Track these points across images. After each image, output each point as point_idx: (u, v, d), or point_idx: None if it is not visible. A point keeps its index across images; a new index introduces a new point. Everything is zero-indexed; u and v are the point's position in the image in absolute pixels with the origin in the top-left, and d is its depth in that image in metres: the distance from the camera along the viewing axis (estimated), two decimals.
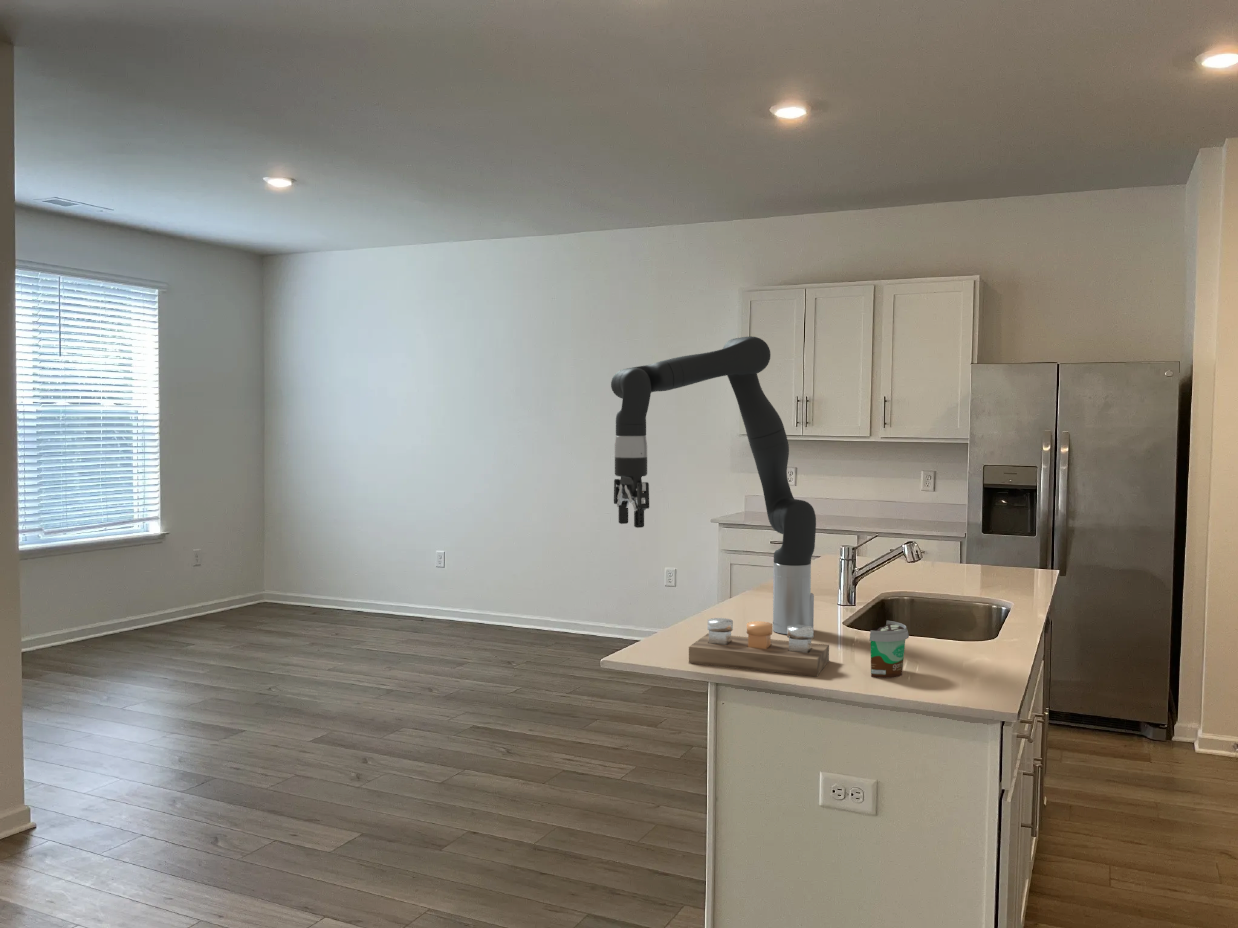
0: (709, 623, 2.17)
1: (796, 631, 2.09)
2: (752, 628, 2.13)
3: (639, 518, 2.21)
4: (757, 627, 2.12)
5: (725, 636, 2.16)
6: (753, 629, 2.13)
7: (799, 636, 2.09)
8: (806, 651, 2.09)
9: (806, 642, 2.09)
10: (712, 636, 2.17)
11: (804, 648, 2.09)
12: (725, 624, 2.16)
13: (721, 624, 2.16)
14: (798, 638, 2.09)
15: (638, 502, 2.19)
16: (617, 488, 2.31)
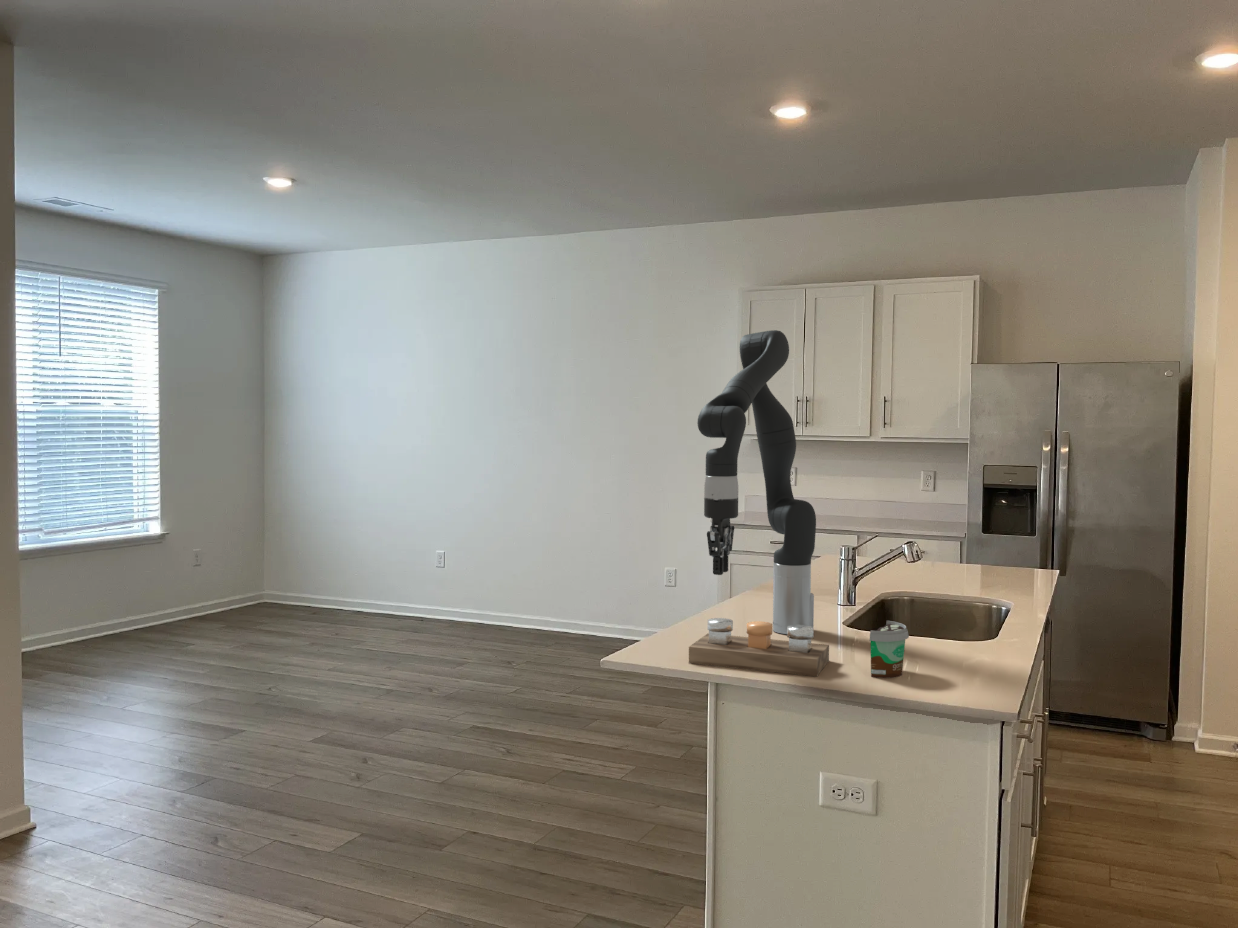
0: (709, 623, 2.17)
1: (796, 631, 2.09)
2: (752, 628, 2.13)
3: None
4: (757, 627, 2.12)
5: (725, 636, 2.16)
6: (753, 629, 2.13)
7: (799, 636, 2.09)
8: (806, 651, 2.09)
9: (806, 642, 2.09)
10: (712, 636, 2.17)
11: (804, 648, 2.09)
12: (725, 624, 2.16)
13: (721, 624, 2.16)
14: (798, 638, 2.09)
15: (731, 544, 2.21)
16: None
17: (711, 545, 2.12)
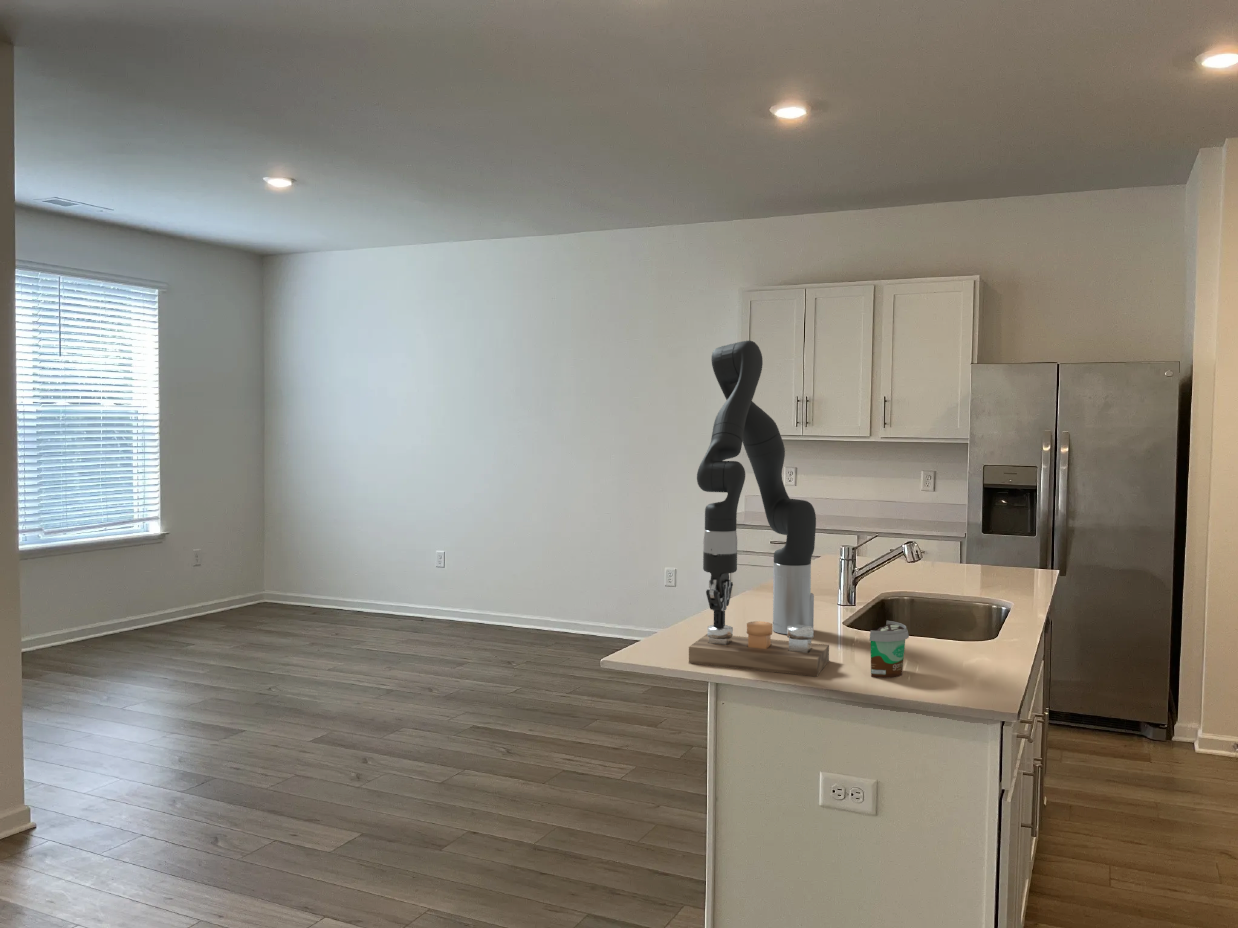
0: (709, 630, 2.17)
1: (796, 631, 2.09)
2: (752, 628, 2.13)
3: None
4: (757, 627, 2.12)
5: (725, 642, 2.16)
6: (753, 629, 2.13)
7: (799, 636, 2.09)
8: (806, 651, 2.09)
9: (806, 642, 2.09)
10: (712, 643, 2.17)
11: (804, 648, 2.09)
12: (725, 631, 2.16)
13: (721, 631, 2.16)
14: (798, 638, 2.09)
15: (728, 599, 2.21)
16: None
17: (711, 602, 2.14)
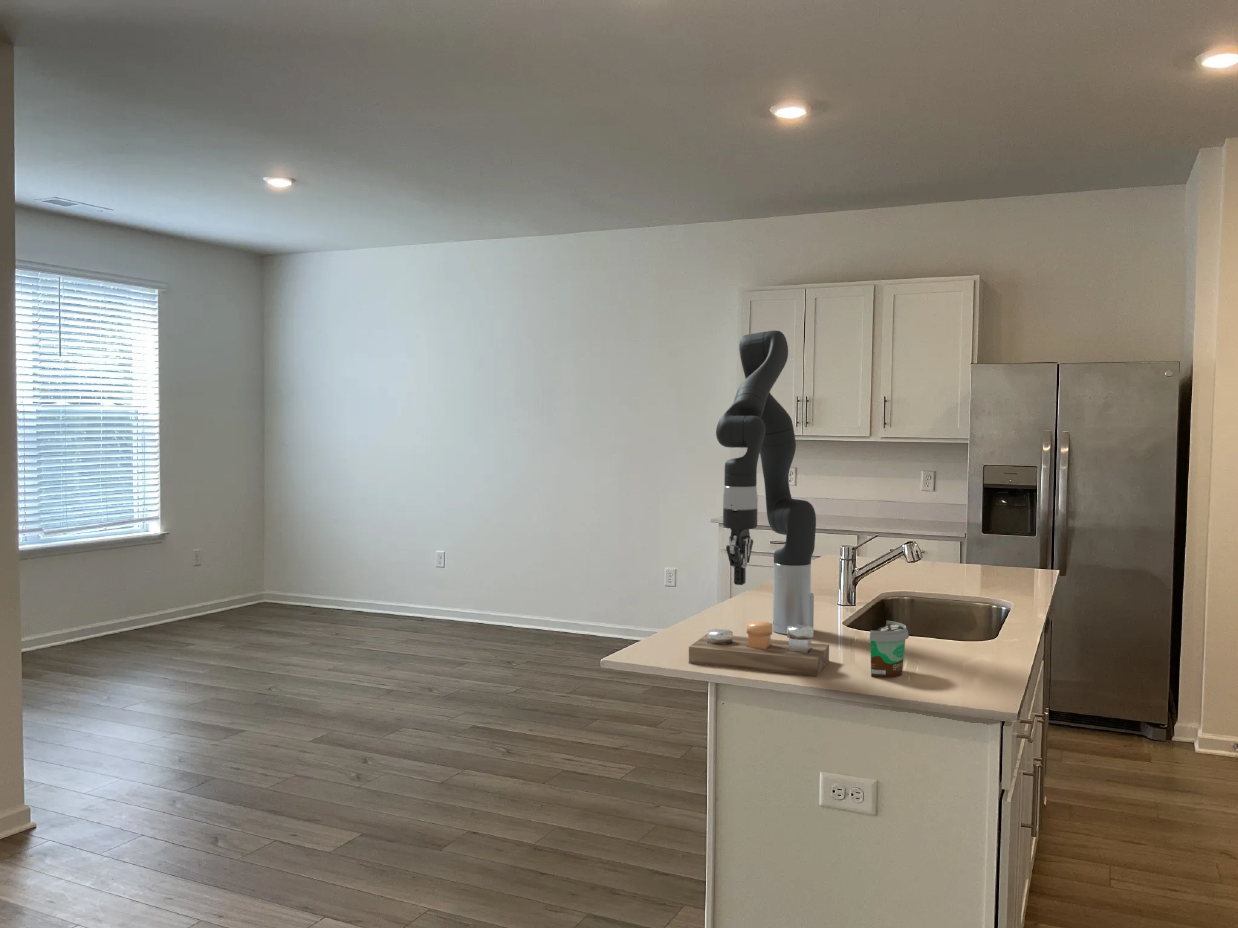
0: (709, 634, 2.17)
1: (796, 631, 2.09)
2: (752, 628, 2.13)
3: None
4: (757, 627, 2.12)
5: None
6: (753, 629, 2.13)
7: (799, 636, 2.09)
8: (806, 651, 2.09)
9: (806, 642, 2.09)
10: None
11: (804, 648, 2.09)
12: (725, 636, 2.16)
13: (721, 636, 2.16)
14: (798, 638, 2.09)
15: (749, 556, 2.18)
16: None
17: (731, 558, 2.12)
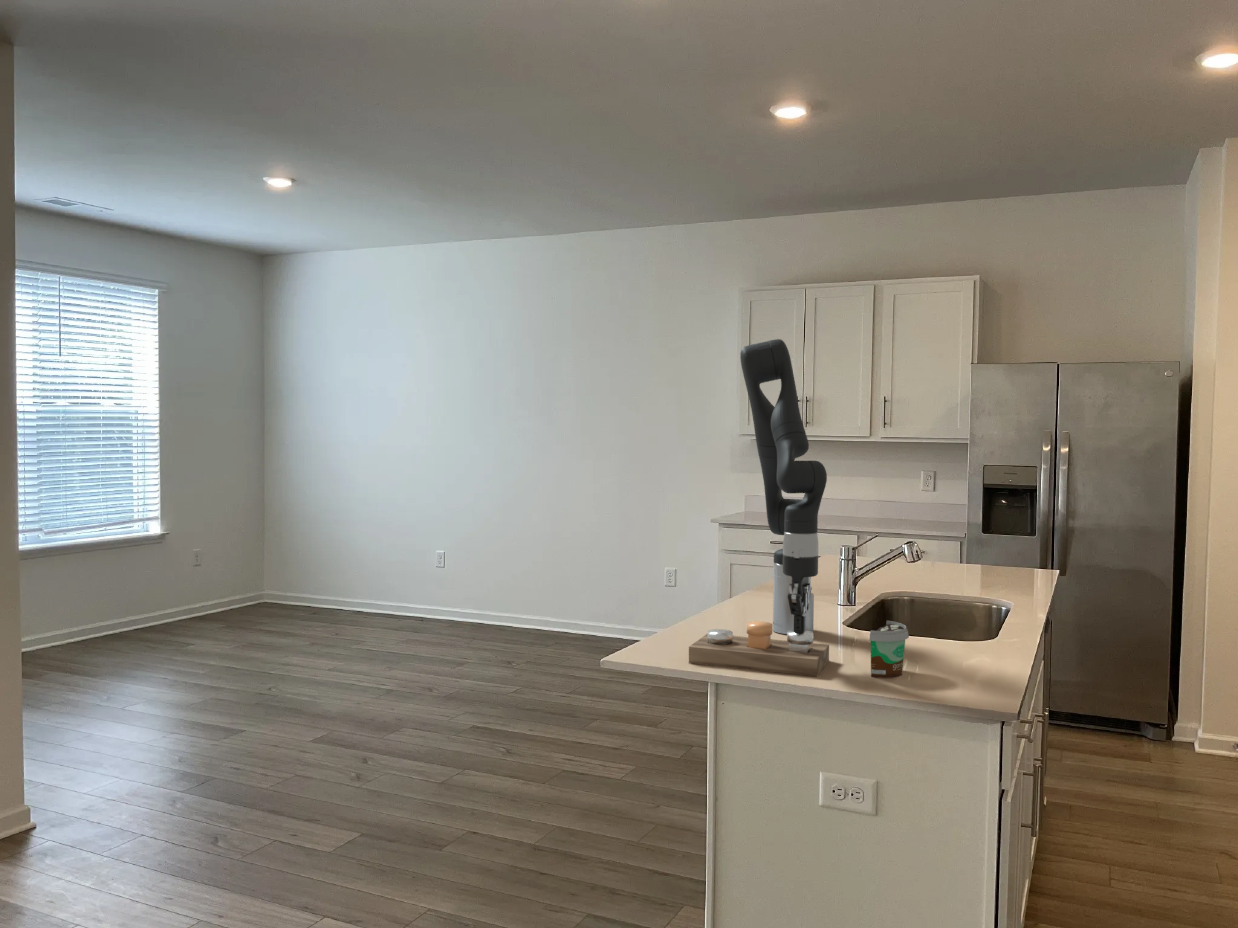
0: (709, 634, 2.17)
1: (796, 636, 2.09)
2: (752, 628, 2.13)
3: None
4: (757, 627, 2.12)
5: None
6: (753, 629, 2.13)
7: (799, 641, 2.09)
8: None
9: (806, 647, 2.09)
10: None
11: None
12: (725, 636, 2.16)
13: (721, 636, 2.16)
14: (798, 643, 2.09)
15: (808, 604, 2.14)
16: None
17: (793, 606, 2.07)
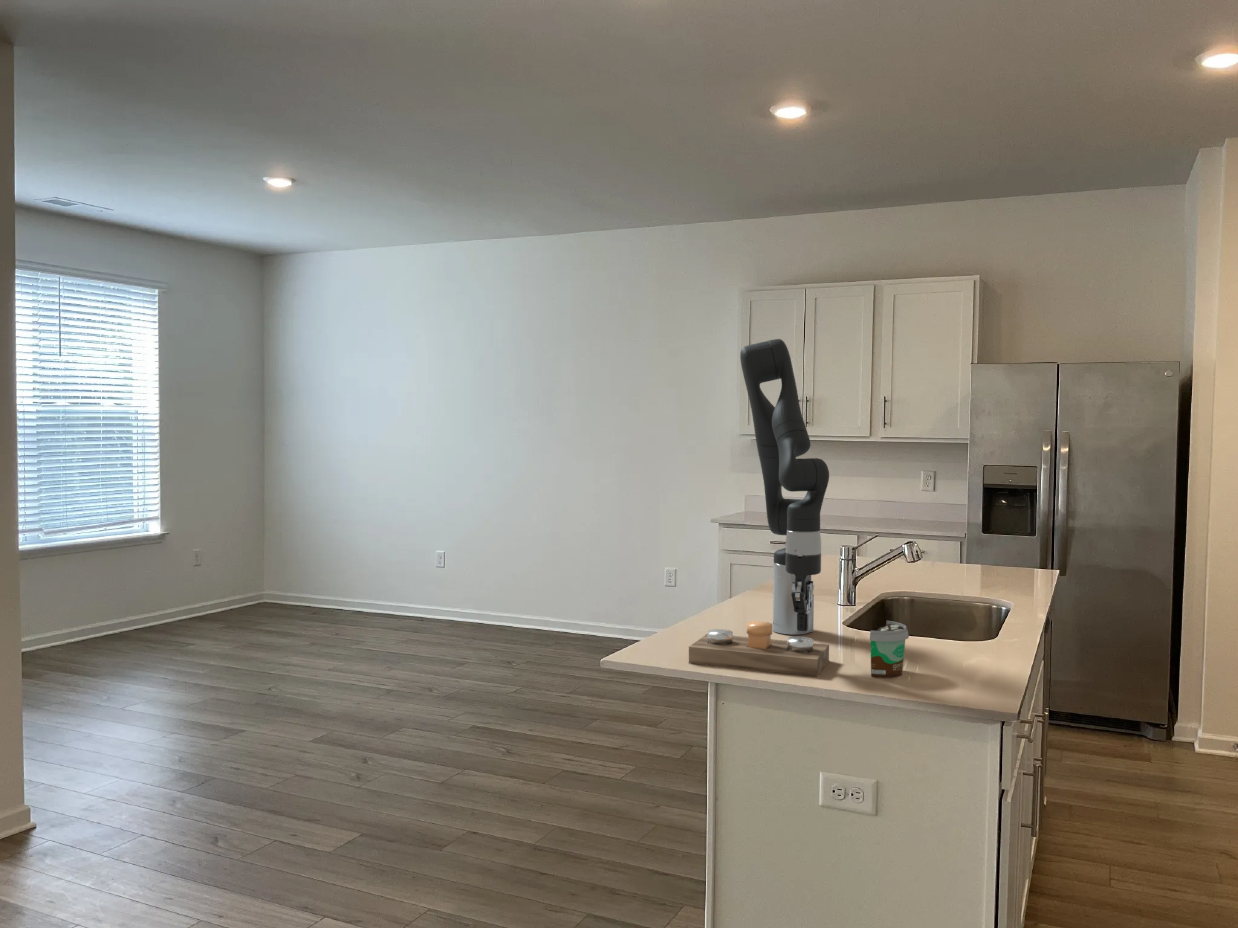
0: (709, 634, 2.17)
1: (796, 643, 2.09)
2: (752, 628, 2.13)
3: None
4: (757, 627, 2.12)
5: None
6: (753, 629, 2.13)
7: (799, 648, 2.09)
8: None
9: None
10: None
11: None
12: (725, 636, 2.16)
13: (721, 636, 2.16)
14: (798, 650, 2.09)
15: (811, 601, 2.14)
16: None
17: (796, 604, 2.07)
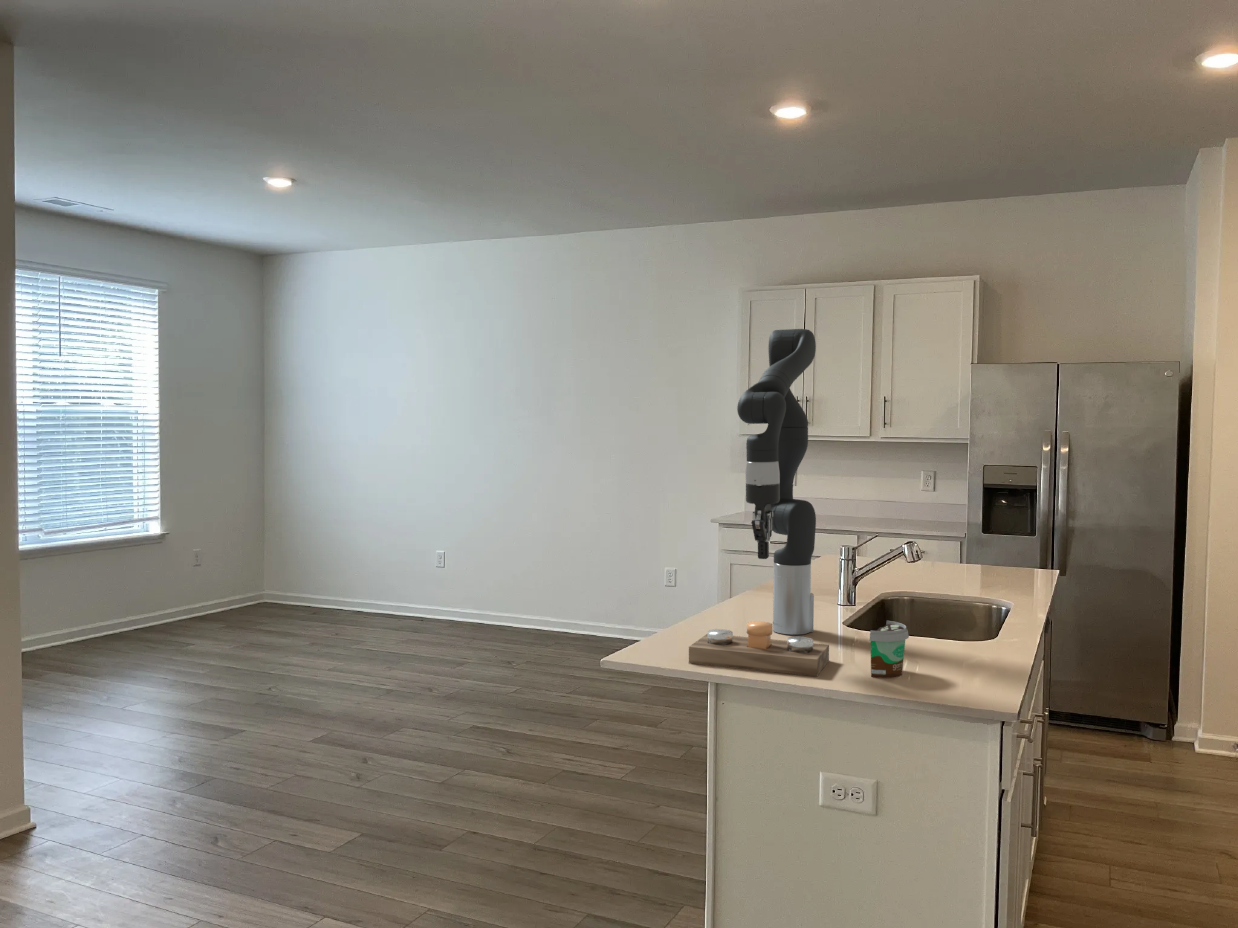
0: (709, 634, 2.17)
1: (796, 643, 2.09)
2: (752, 628, 2.13)
3: None
4: (757, 627, 2.12)
5: None
6: (753, 629, 2.13)
7: (799, 648, 2.09)
8: None
9: None
10: None
11: None
12: (725, 636, 2.16)
13: (721, 636, 2.16)
14: (798, 650, 2.09)
15: (771, 531, 2.22)
16: None
17: (756, 532, 2.15)
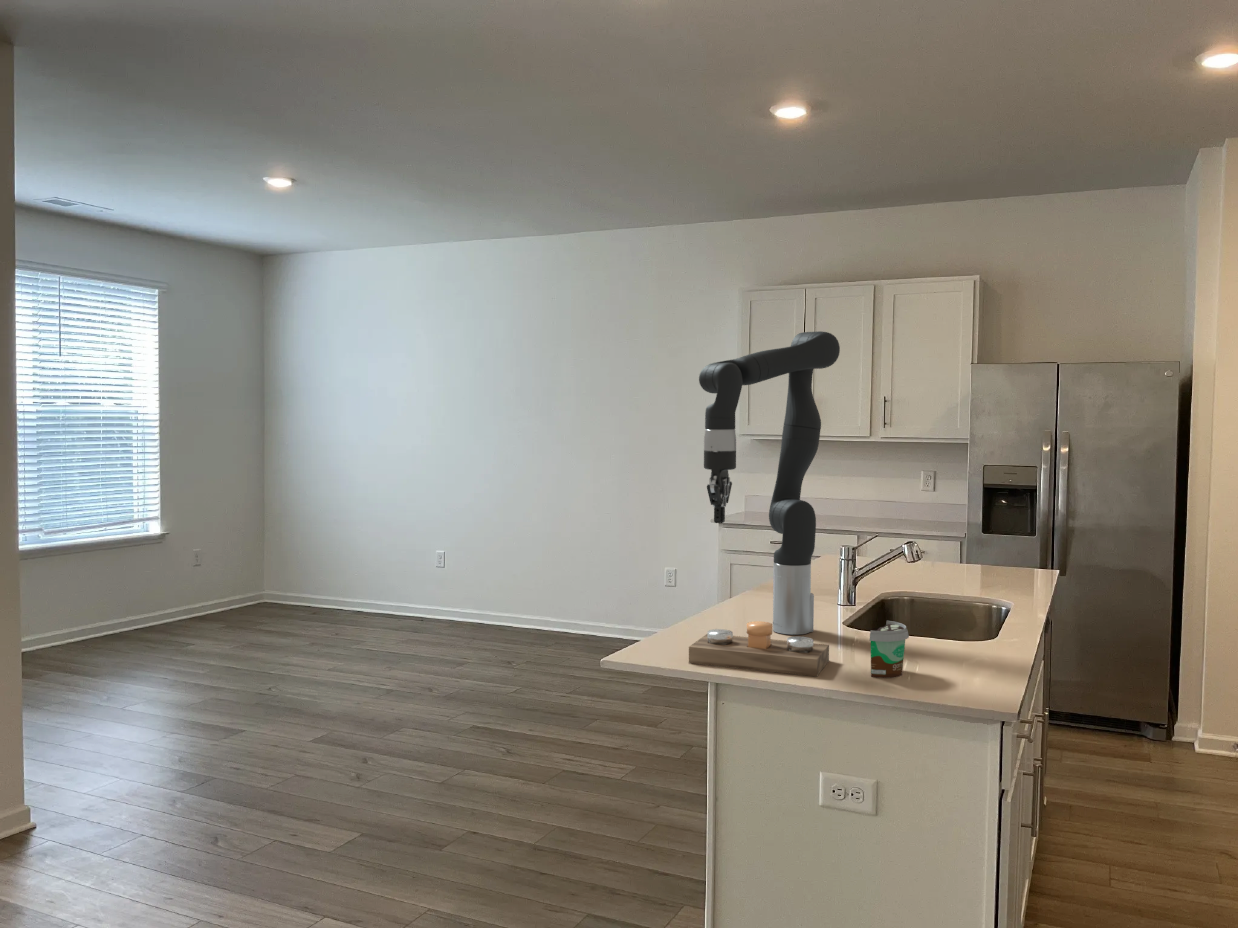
0: (709, 634, 2.17)
1: (796, 643, 2.09)
2: (752, 628, 2.13)
3: None
4: (757, 627, 2.12)
5: None
6: (753, 629, 2.13)
7: (799, 648, 2.09)
8: None
9: None
10: None
11: None
12: (725, 636, 2.16)
13: (721, 636, 2.16)
14: (798, 650, 2.09)
15: (728, 497, 2.31)
16: None
17: (712, 496, 2.25)
